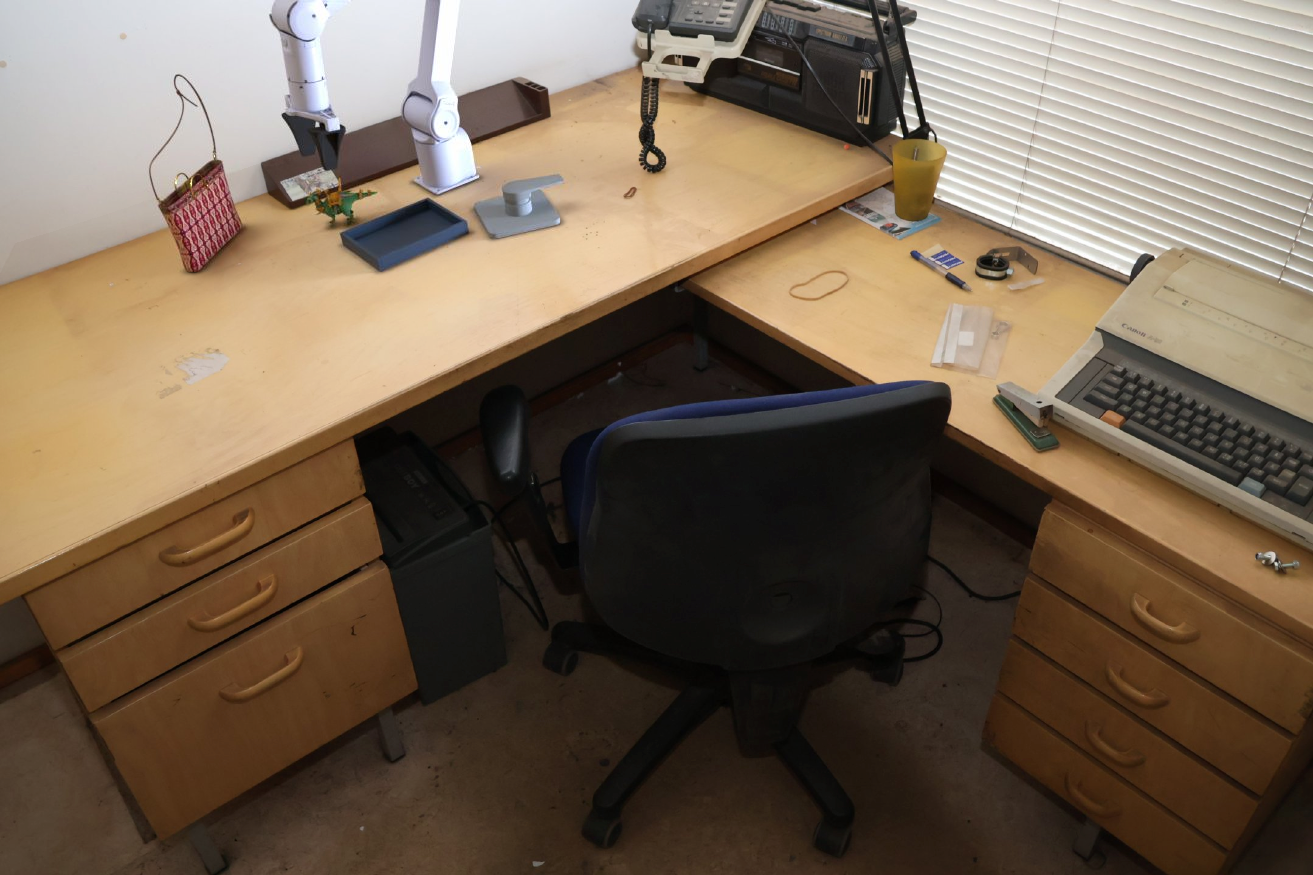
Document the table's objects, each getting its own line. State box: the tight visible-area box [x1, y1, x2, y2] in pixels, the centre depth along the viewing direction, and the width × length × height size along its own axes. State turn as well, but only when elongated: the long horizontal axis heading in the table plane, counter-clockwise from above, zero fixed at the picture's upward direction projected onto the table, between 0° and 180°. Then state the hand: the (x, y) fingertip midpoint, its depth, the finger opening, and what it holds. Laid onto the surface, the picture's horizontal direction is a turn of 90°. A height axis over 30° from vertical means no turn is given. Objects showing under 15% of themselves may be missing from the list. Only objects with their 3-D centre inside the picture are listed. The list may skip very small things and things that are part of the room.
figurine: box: [305, 177, 378, 228], centre depth 171 cm, size 3×12×8 cm, turn 103°
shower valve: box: [473, 173, 565, 240], centre depth 172 cm, size 12×6×15 cm
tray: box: [339, 197, 470, 272], centre depth 168 cm, size 17×12×2 cm
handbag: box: [148, 73, 243, 273], centre depth 162 cm, size 7×21×25 cm, turn 168°
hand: (319, 162), depth 165 cm, fingers open, 7 cm apart
